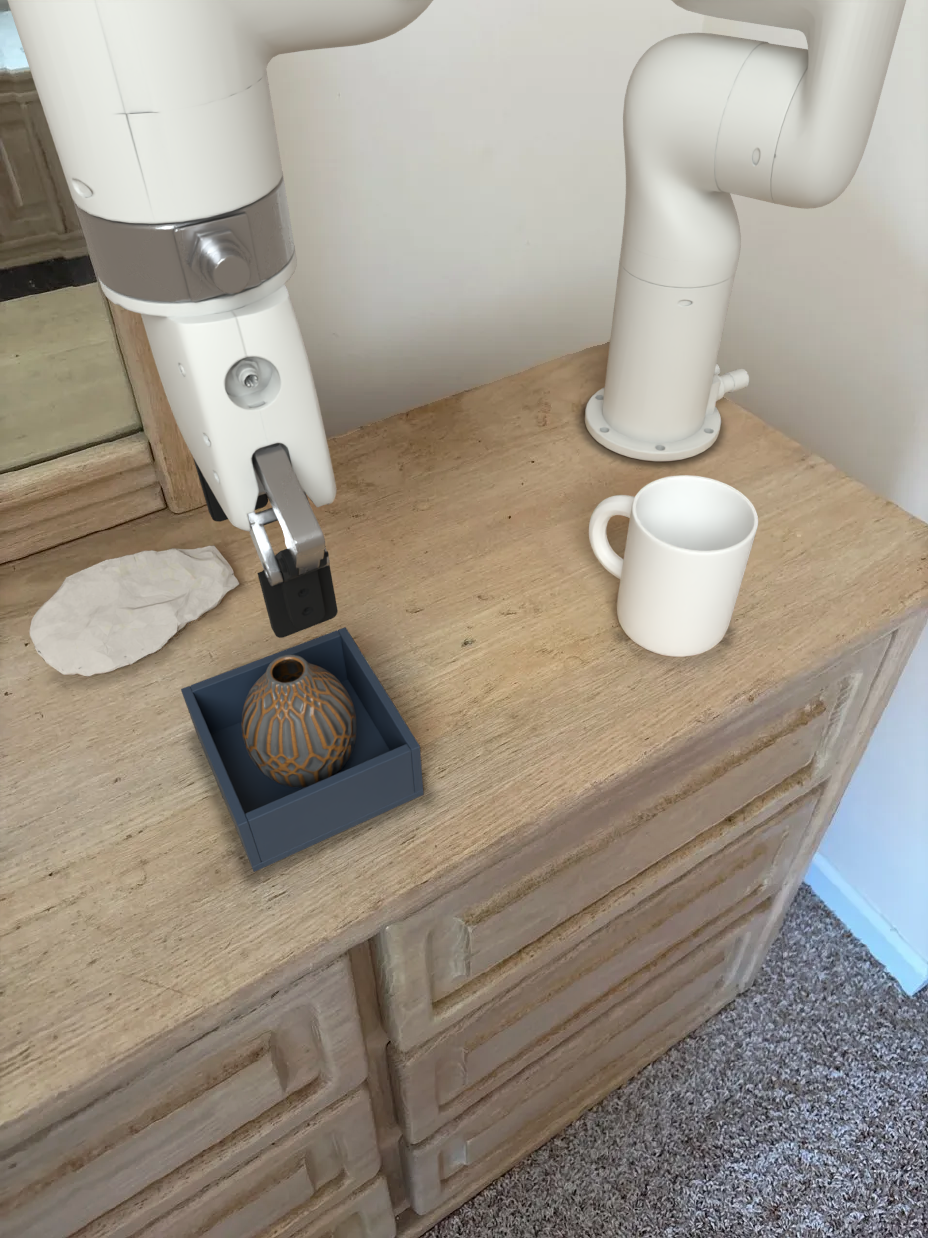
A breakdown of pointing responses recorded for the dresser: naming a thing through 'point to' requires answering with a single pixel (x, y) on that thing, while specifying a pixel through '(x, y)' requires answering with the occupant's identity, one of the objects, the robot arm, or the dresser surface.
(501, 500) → the dresser surface
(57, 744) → the dresser surface
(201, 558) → the stone tool
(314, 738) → the vase
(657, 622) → the mug
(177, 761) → the dresser surface
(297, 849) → the bin
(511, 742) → the dresser surface
